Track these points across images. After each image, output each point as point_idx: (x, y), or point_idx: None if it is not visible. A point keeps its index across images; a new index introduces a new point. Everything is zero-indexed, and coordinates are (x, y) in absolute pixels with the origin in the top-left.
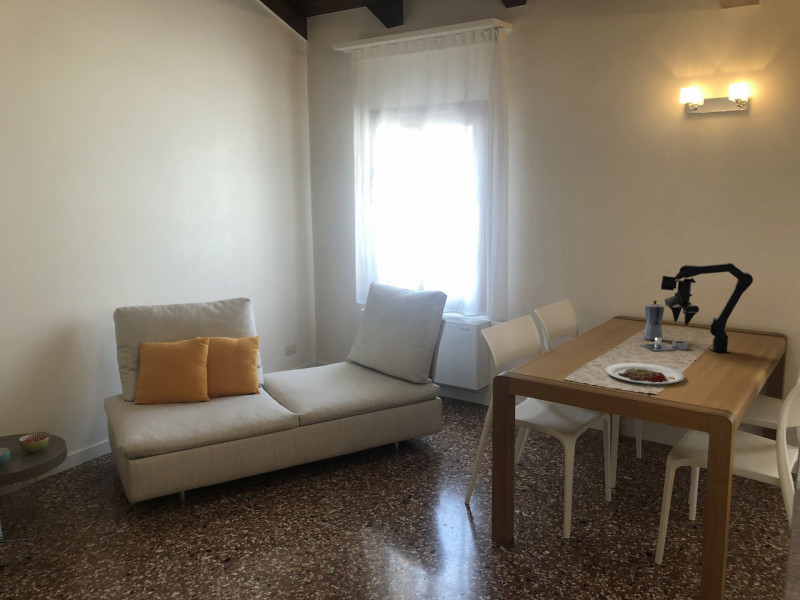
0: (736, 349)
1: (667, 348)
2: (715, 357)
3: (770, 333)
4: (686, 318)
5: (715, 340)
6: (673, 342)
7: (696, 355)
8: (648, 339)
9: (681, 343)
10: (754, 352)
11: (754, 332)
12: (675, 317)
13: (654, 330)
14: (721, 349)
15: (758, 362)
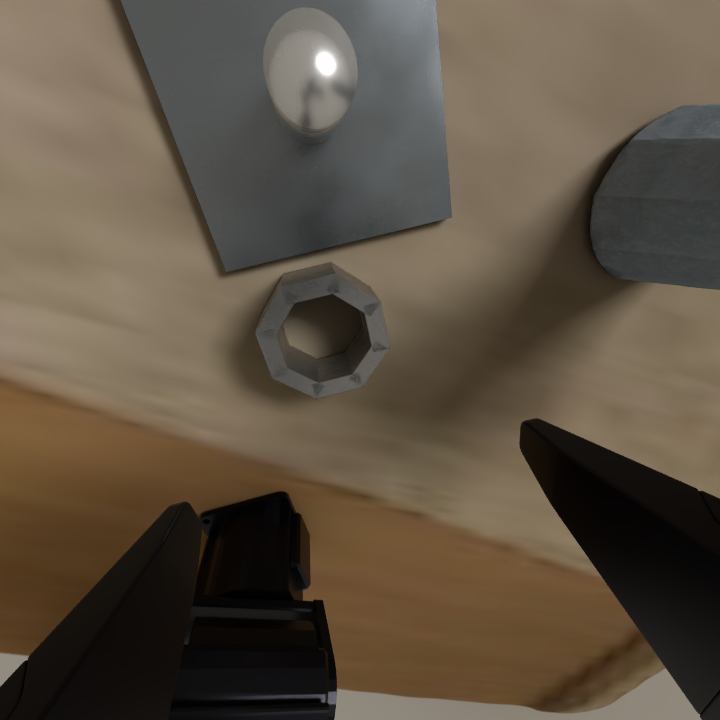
0: (324, 594)
1: (245, 191)
2: (54, 479)
3: (589, 691)
4: (8, 695)
5: (225, 580)
6: (313, 278)
7: (72, 378)
8: (638, 133)
9: (268, 340)
10: None
11: (618, 664)
12: (575, 482)
13: (707, 187)
14: (205, 549)
15: (12, 631)
